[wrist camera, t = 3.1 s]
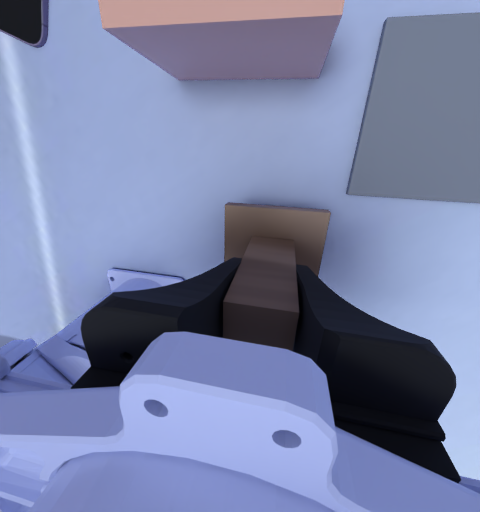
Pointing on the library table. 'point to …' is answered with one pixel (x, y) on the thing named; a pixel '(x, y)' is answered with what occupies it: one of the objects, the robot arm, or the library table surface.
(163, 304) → the robot arm
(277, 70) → the tile
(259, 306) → the stamp
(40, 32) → the smartphone
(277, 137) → the library table surface
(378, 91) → the mat
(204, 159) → the library table surface
